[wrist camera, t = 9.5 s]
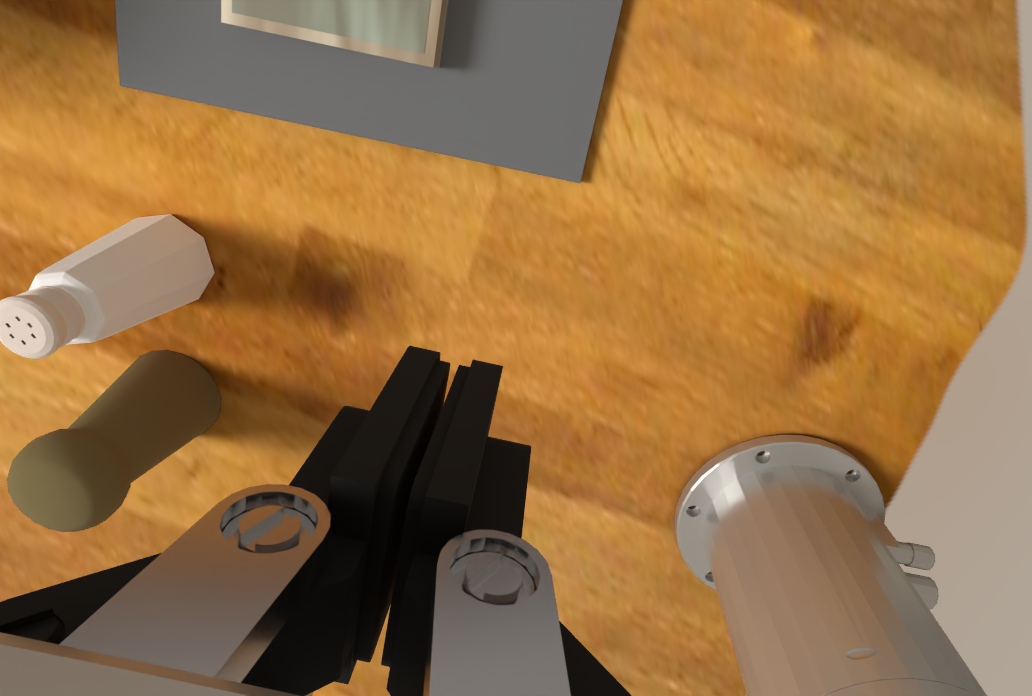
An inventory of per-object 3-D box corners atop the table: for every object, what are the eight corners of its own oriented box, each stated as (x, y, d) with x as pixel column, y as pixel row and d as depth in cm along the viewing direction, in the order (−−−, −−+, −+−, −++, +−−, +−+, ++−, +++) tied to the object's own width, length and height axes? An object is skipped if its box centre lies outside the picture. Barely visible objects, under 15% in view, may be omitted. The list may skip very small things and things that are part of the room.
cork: (153, 331, 39) (9, 423, 29) (238, 391, 40) (129, 499, 30) (111, 396, 41) (-37, 504, 31) (193, 451, 42) (77, 571, 32)
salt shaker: (173, 193, 35) (16, 244, 25) (235, 277, 37) (111, 356, 27) (103, 239, 36) (-72, 305, 26) (166, 318, 38) (24, 407, 28)
